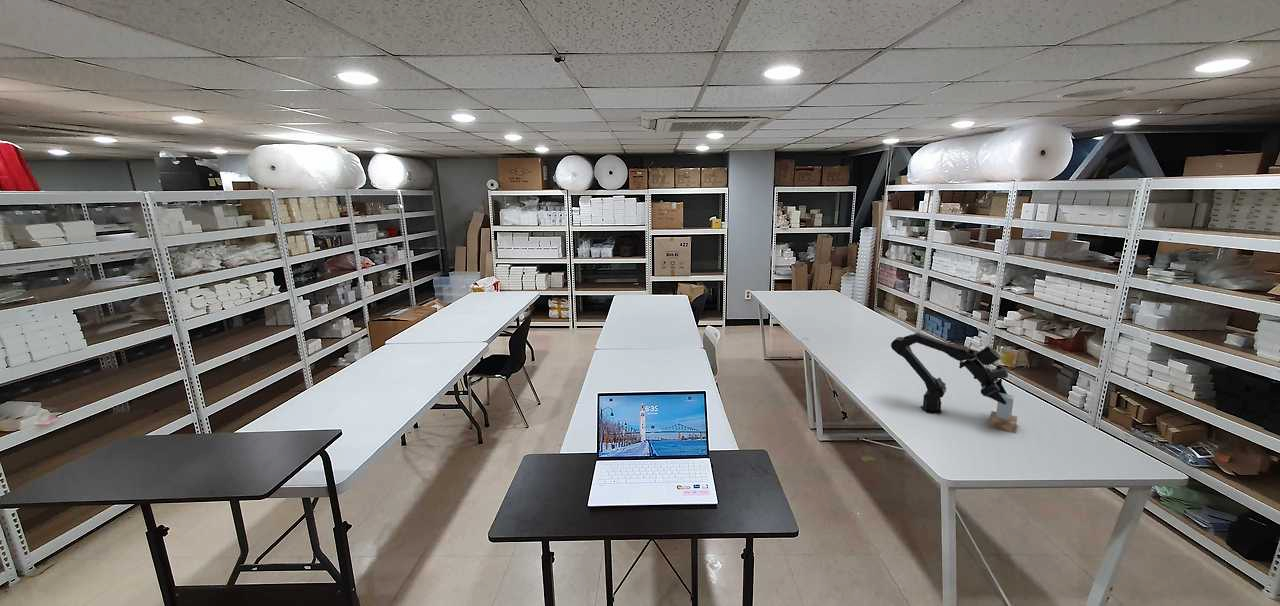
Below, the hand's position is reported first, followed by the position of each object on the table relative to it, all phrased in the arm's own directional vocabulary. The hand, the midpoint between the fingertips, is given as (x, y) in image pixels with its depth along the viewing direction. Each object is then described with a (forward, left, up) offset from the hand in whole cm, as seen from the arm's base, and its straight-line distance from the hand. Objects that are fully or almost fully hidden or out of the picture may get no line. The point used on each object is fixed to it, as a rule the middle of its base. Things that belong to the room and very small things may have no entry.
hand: (1006, 400), depth 202 cm
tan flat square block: (0, 0, -12) cm, 12 cm away
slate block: (0, 0, -8) cm, 8 cm away
